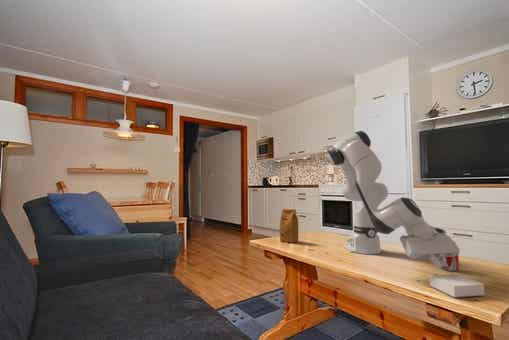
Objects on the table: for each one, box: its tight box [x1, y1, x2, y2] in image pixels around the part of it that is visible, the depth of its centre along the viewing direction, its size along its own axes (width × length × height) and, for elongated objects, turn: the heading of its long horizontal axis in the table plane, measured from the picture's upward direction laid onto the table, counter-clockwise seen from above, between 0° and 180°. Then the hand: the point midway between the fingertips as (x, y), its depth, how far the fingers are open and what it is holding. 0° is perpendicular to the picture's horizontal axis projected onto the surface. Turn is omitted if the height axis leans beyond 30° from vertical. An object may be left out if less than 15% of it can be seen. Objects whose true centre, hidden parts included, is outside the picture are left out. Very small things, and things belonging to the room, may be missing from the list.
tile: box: [429, 273, 485, 298], centre depth 90 cm, size 4×11×10 cm
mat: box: [433, 287, 484, 299], centre depth 89 cm, size 8×11×1 cm
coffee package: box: [278, 208, 299, 244], centre depth 176 cm, size 10×12×22 cm
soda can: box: [438, 241, 460, 272], centre depth 114 cm, size 7×7×12 cm
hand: (443, 267), depth 95 cm, fingers closed
